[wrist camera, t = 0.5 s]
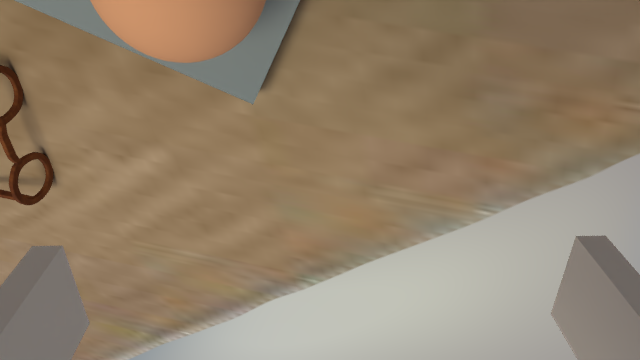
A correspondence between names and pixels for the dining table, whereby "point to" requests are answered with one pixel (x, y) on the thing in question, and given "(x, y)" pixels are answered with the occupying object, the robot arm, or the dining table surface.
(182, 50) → the ball
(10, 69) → the glasses
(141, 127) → the dining table surface
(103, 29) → the grey rectangular frame
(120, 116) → the dining table surface
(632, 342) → the robot arm
